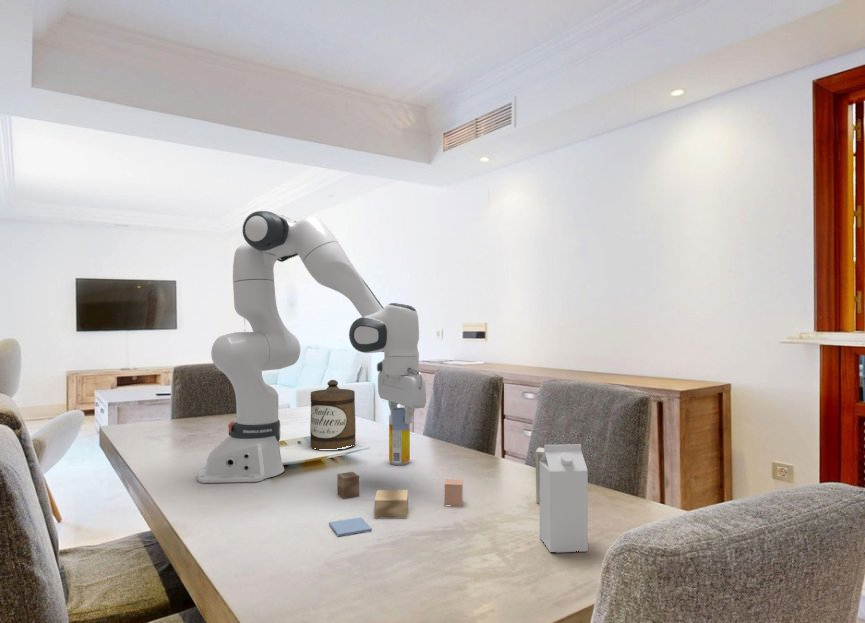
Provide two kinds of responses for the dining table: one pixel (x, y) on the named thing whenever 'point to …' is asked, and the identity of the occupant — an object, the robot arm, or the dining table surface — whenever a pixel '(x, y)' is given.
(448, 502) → the terracotta cube
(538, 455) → the skincare box
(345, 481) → the walnut cube
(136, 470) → the dining table surface
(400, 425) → the blue cube
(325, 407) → the wooden container
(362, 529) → the tile
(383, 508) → the oak base
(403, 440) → the beer can
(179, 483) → the dining table surface
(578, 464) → the milk carton
